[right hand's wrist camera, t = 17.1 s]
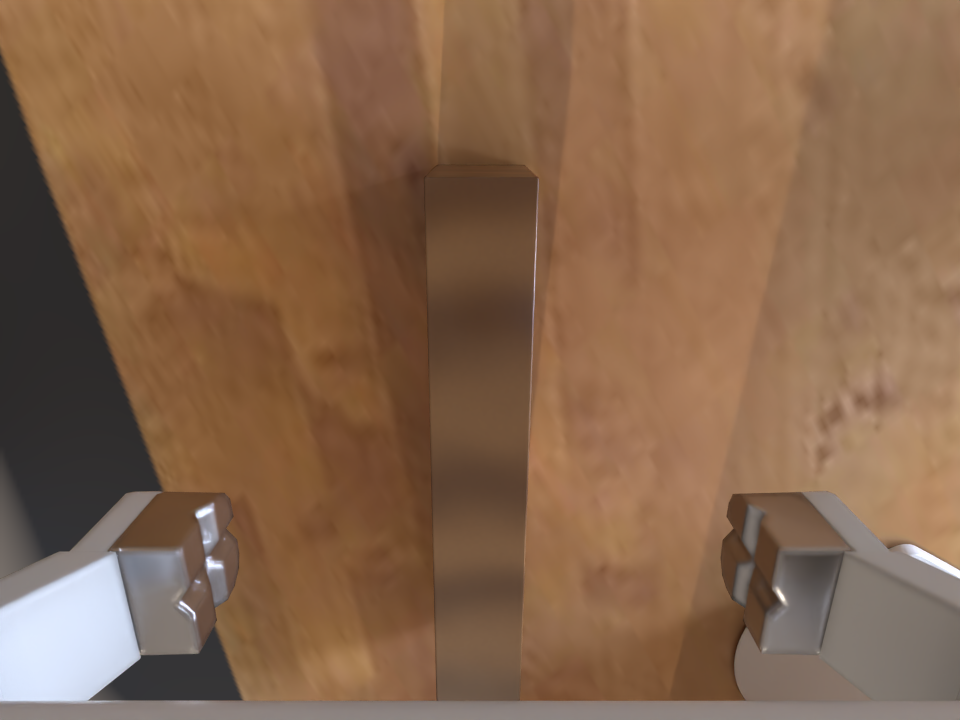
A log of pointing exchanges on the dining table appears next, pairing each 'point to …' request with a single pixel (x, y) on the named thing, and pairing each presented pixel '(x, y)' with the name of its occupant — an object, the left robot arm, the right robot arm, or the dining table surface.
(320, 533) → the dining table surface
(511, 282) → the bar
